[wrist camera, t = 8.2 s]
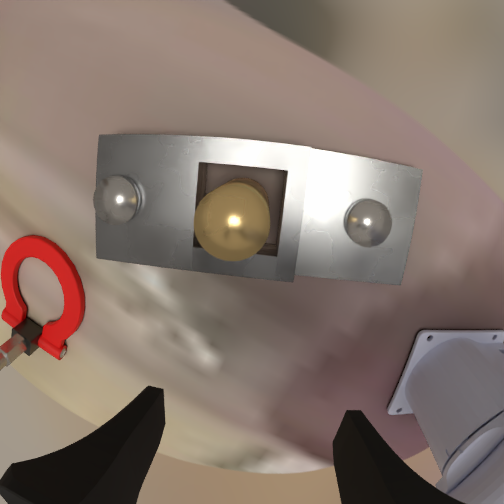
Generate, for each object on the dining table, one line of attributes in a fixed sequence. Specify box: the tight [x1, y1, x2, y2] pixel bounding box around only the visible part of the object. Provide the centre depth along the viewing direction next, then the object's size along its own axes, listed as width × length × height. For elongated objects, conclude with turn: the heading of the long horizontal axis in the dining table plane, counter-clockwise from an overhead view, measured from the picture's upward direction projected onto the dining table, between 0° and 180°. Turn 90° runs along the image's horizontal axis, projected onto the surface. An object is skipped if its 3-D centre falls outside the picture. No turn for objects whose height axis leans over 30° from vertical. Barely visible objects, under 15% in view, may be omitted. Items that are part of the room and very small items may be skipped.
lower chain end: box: [198, 149, 423, 285], centre depth 17 cm, size 13×7×2 cm, turn 84°
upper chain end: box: [93, 134, 311, 282], centre depth 17 cm, size 11×7×3 cm, turn 84°
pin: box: [194, 178, 270, 261], centre depth 15 cm, size 3×3×6 cm
